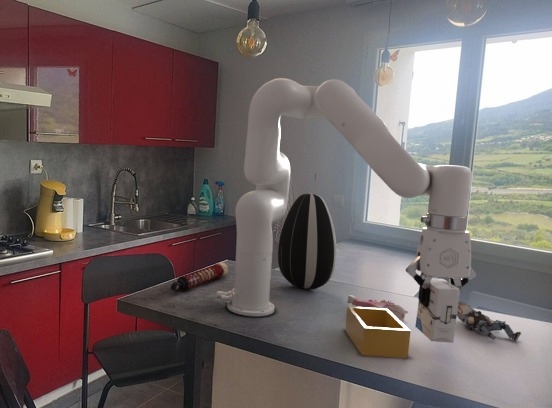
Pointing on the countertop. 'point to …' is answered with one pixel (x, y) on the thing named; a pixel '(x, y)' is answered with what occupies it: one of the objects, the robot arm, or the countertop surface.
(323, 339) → the countertop surface
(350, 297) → the toy
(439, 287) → the ink box
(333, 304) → the countertop surface
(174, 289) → the shock absorber
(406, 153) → the robot arm
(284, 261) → the sunflower seed
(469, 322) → the toy
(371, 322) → the holder
